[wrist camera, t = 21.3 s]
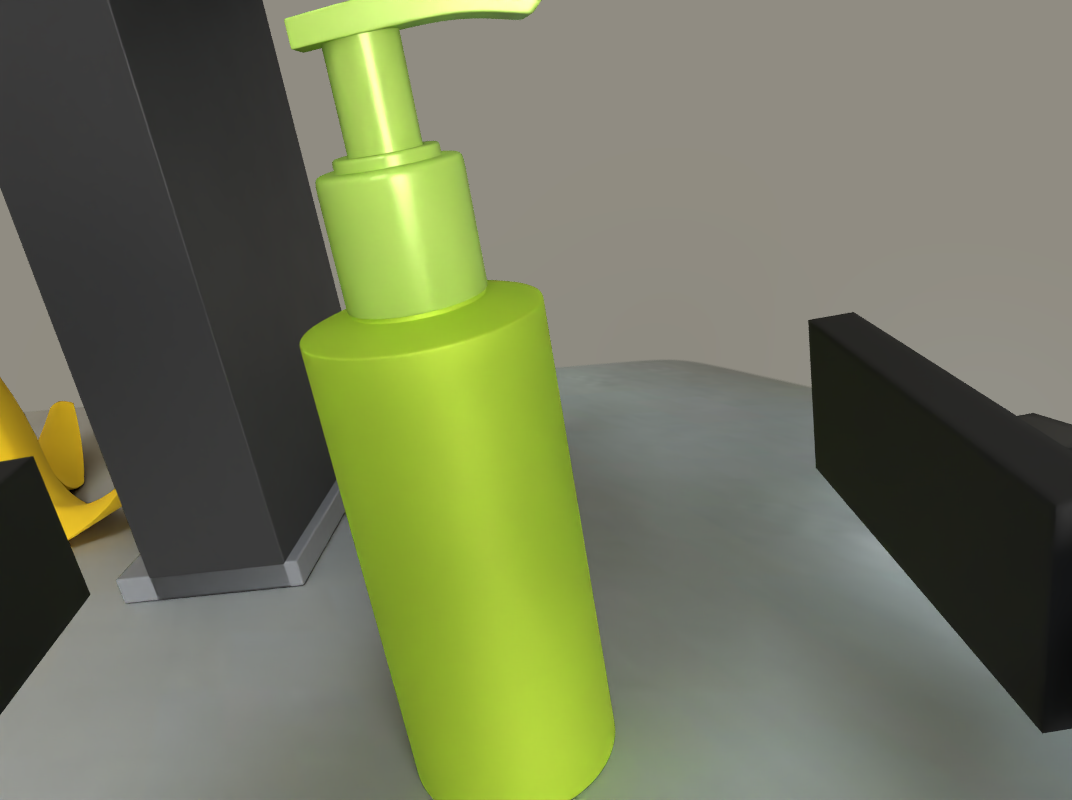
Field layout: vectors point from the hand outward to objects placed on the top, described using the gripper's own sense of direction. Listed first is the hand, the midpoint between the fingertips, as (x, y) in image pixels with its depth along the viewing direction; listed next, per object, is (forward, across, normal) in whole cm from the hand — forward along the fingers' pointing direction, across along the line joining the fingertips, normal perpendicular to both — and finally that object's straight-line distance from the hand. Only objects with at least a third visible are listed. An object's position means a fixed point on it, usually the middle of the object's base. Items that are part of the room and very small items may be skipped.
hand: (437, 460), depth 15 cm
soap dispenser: (+7, 0, -12) cm, 14 cm away
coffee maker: (+24, -5, -12) cm, 28 cm away
